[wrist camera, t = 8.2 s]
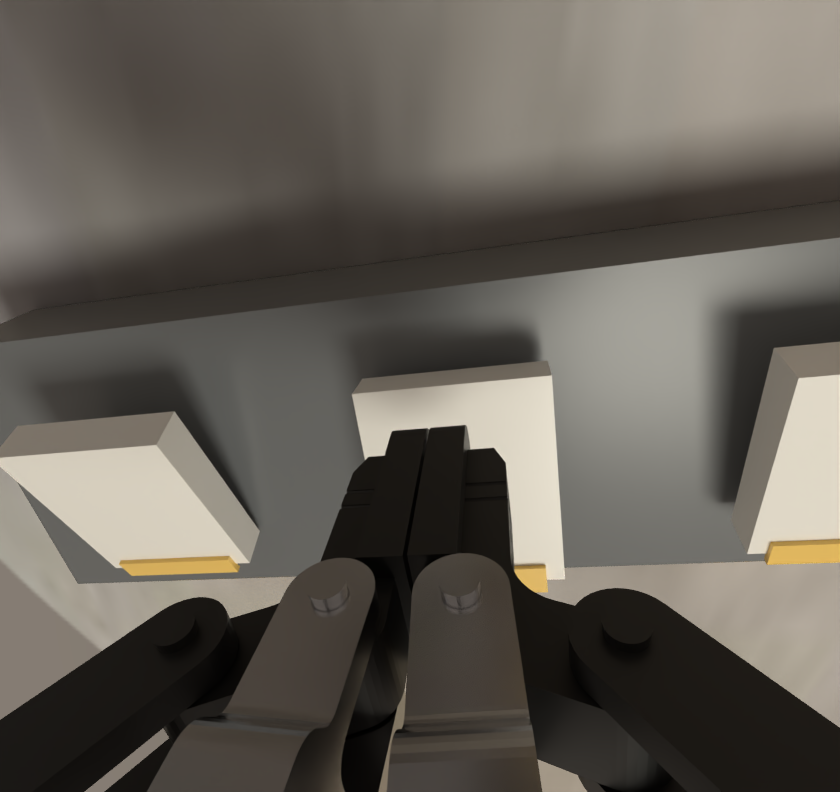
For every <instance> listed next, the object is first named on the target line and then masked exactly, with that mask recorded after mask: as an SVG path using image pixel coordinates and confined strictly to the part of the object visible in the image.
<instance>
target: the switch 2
mask: <svg viewBox="0 0 840 792" xmlns="http://www.w3.org/2000/svg"><path fill="white" fill-rule="evenodd" d="M352 398H353V403H354V408H355V413H356V418H357V423H358V428H359V433H360V438H361V443H362V448H363V453H364V458H365V460H366V459H367V458H368V457H372V456H385V452H386V449H387V445H388V442H389V439H390V435H391V432H392V431H396V430H409V429H422V428H428V429H429V430H430V428H433V427H446V426H458V425H466V426H467V429H468V435H469V442H470V449H484V448H495V450H496V451H497V452H498V453H499V455H500V456H501V457H502V459H503V460H504V461H505V462H506V471H507V481H508V490H509V500H510V510H511V520H512V534H513V551H514V568H515V574H516V575H517V577H518V578H519V579H520V581H521V582H522V583H523V584H524V585H525V586H527V587H528V588H529V589H530V590H532V591H534V592H548V588H547V580H554V579H565V571H564V555H563V540H562V524H561V508H560V493H559V477H558V462H557V446H556V430H555V415H554V399H553V384H552V374H551V371H550V367H549V364H548V361H538V362H527V363H517V364H507V365H497V366H487V367H476V368H466V369H456V370H446V371H436V372H425V373H415V374H405V375H395V376H385V377H374V378H364V379H362V380H361V382H360V383H359V384H358V386H357V387H356V389H355V390H354V392H353V393H352Z"/></svg>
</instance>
